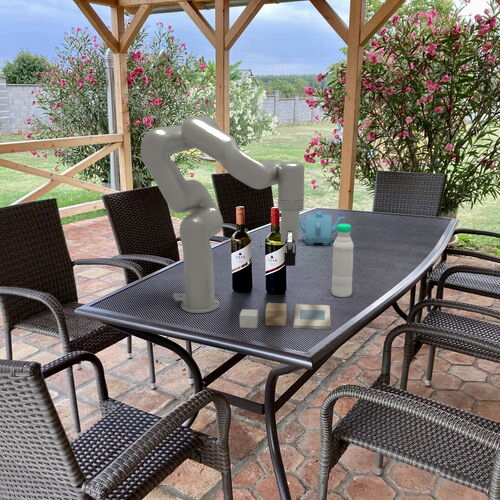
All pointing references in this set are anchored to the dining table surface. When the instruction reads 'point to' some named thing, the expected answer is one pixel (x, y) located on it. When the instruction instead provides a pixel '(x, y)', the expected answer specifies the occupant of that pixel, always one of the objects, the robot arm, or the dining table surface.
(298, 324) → the board
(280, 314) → the oak block
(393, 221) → the dining table surface
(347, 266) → the water bottle
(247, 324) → the grey block
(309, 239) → the teakettle
